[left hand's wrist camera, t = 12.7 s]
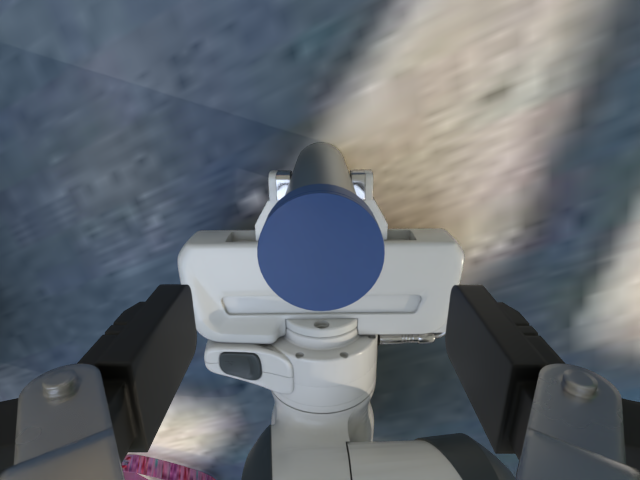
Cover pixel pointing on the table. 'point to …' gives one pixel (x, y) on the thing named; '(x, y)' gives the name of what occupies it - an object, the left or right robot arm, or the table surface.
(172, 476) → the headband
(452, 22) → the table surface
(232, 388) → the table surface
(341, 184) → the dark grey tube
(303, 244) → the lid
